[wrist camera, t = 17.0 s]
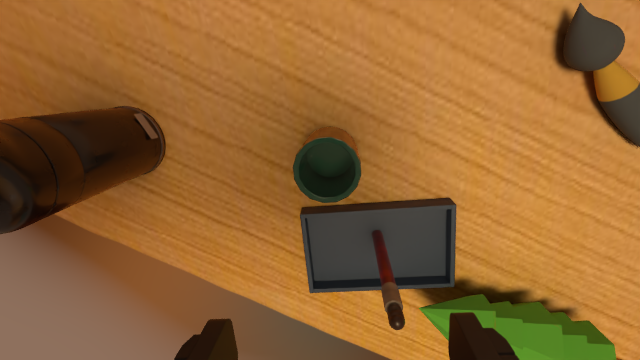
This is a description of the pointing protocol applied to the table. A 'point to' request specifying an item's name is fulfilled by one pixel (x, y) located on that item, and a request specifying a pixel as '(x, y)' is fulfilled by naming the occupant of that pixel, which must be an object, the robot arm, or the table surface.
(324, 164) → the cup
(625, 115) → the paintbrush
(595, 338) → the decorative tree
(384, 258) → the brush
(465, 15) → the table surface
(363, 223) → the tray
